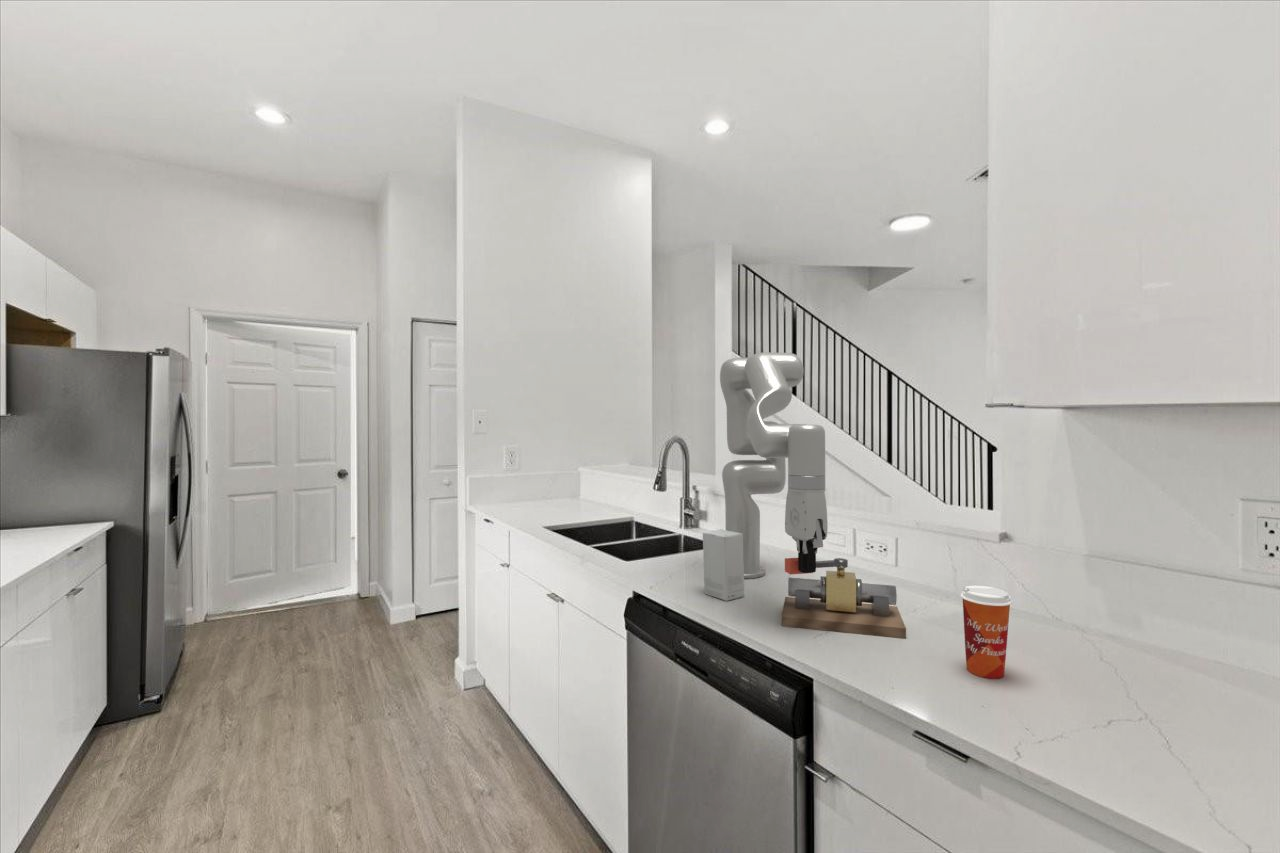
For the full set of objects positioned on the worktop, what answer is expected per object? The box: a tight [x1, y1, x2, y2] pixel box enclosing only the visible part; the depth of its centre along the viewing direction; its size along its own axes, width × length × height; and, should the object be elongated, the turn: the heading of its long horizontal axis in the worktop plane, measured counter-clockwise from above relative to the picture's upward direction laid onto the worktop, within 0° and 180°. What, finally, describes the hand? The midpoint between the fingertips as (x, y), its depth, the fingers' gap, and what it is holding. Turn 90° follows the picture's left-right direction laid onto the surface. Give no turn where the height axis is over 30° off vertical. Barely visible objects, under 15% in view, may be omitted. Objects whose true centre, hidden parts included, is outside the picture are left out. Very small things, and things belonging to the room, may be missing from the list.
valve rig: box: [781, 567, 907, 639], centre depth 127 cm, size 24×14×11 cm, turn 73°
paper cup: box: [960, 585, 1014, 680], centre depth 102 cm, size 8×8×14 cm
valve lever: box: [784, 557, 849, 575], centre depth 127 cm, size 14×3×3 cm, turn 103°
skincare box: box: [702, 528, 745, 602], centre depth 145 cm, size 8×7×16 cm
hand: (807, 571), depth 123 cm, fingers closed
